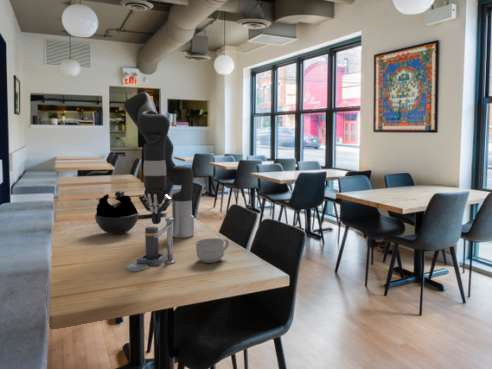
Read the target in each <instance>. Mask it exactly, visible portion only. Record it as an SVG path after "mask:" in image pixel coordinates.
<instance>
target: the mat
mask: <svg viewBox="0 0 492 369" xmlns="http://www.w3.org/2000/svg"><path fill="white" fill-rule="evenodd" d="M148 268H149V265H147V264H137V262H136V263H131V264H128V265H126V266H125V270H126V271H128V272H141V271H140V270H142V271H145V270H147V269H148ZM144 269H145V270H144Z"/></svg>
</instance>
